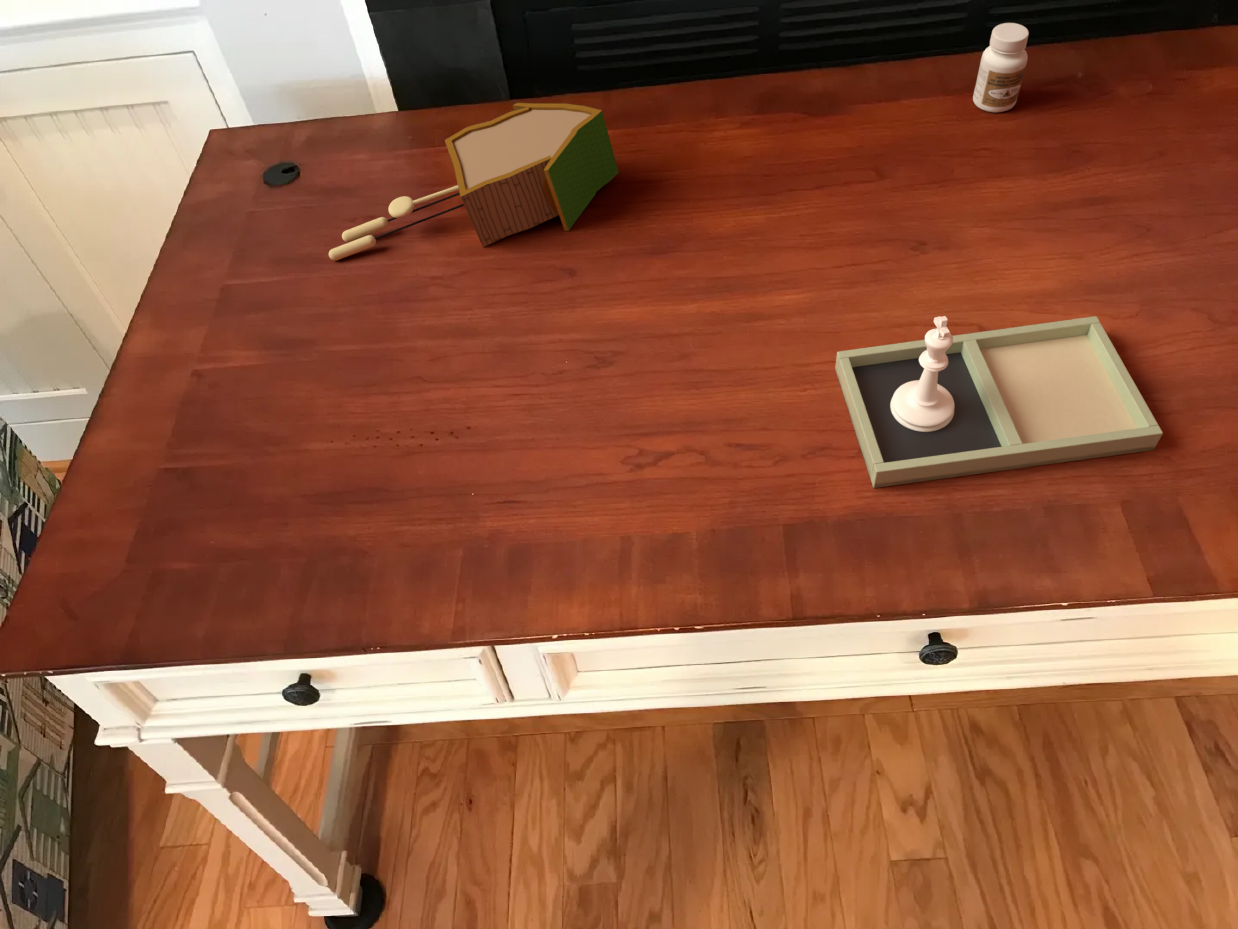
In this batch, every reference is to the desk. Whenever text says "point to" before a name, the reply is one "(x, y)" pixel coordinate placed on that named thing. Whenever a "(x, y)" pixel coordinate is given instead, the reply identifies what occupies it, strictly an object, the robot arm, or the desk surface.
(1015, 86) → the pill bottle
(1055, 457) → the sorting tray
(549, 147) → the cuckoo clock
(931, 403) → the chess piece
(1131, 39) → the desk surface
